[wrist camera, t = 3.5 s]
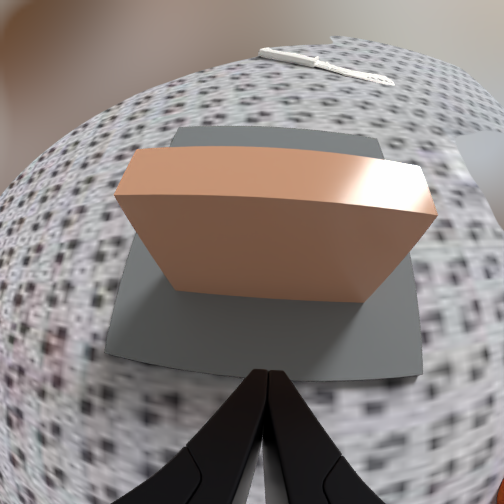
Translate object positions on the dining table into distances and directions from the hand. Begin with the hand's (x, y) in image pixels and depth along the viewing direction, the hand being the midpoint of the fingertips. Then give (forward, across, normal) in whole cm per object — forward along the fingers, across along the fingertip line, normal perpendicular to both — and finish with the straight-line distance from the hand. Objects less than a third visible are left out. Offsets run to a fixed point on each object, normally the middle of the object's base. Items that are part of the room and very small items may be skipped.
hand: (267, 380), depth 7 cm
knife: (+41, -11, -25) cm, 49 cm away
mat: (+16, 0, -2) cm, 16 cm away
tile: (+12, 0, +2) cm, 12 cm away
